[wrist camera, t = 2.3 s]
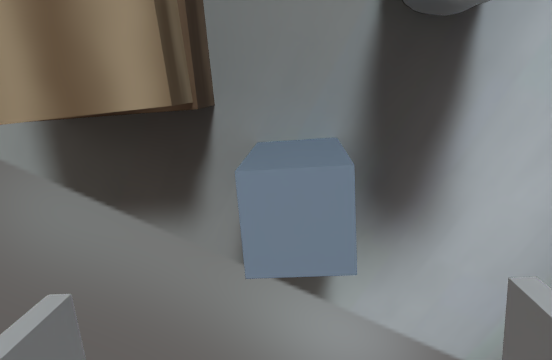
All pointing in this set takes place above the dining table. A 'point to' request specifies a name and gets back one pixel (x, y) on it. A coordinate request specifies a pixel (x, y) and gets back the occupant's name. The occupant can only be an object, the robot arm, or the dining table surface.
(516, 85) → the dining table surface
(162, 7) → the tower top
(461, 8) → the candle
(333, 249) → the blue block
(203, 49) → the block
